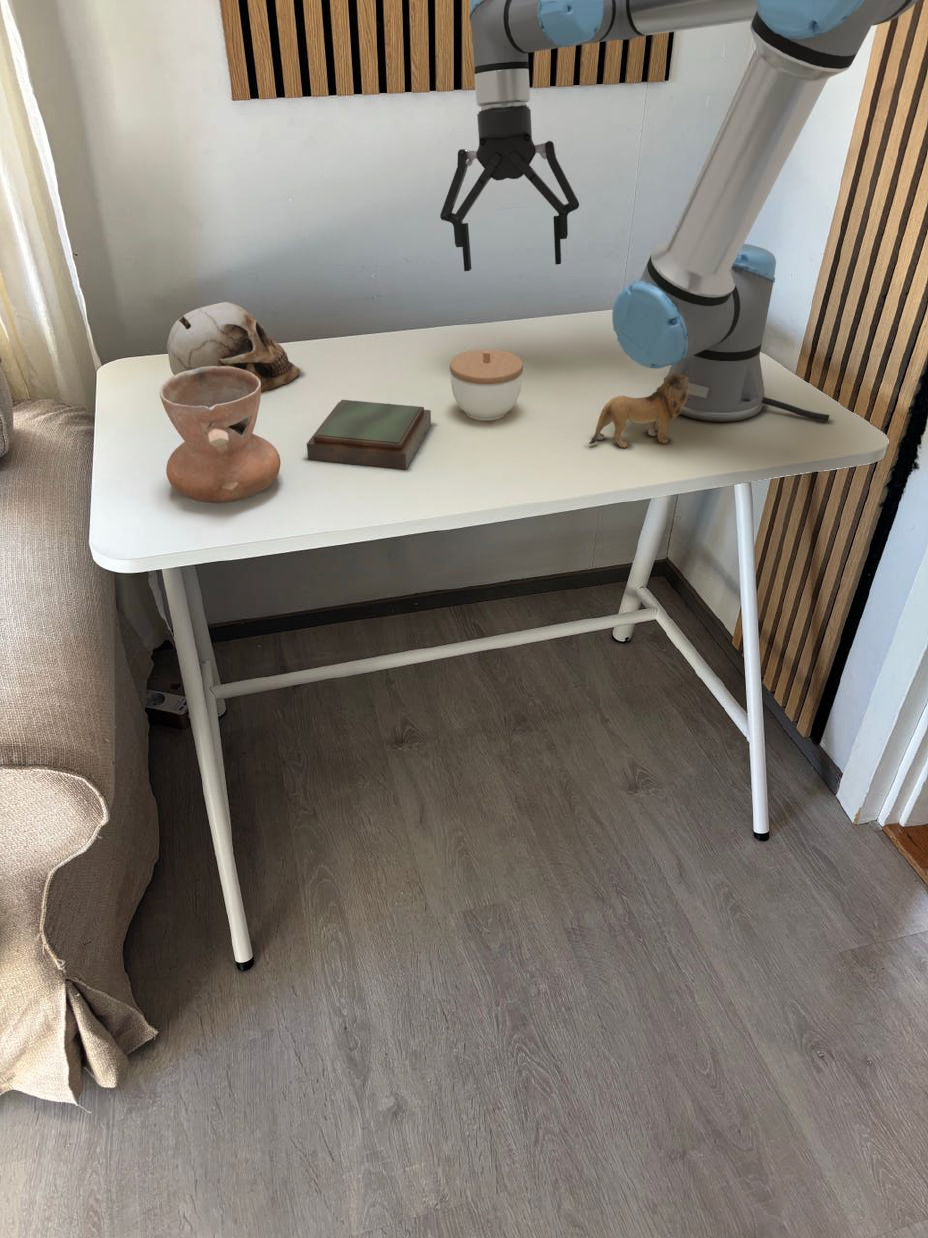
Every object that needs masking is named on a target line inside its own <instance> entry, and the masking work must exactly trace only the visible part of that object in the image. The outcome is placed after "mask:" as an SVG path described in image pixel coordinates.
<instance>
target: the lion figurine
mask: <svg viewBox="0 0 928 1238" xmlns="http://www.w3.org/2000/svg"><path fill="white" fill-rule="evenodd" d="M666 376H667V375H666ZM666 376H665V377H663V382H662V384H661V385H660V386H658V387H657V388H656V391H654V392H653V393H652V394H650V395H648V396H644V397H630V396H625V395H617V396H614V397H612V398H611V399H609V401H607V402H606V404H605V405H604V406H603V408H602V410H601V412H600V413H599V417H598V421H597V424H596V427H595V432H594V436H593V437H592V438H591V440H590V441H589V442H588V444H589V445H593V444H595V443H596V441H597V440H599V441H600V440H603V439H604V438H605V434H604V433H602V431H603V429H604V428H605V427H606V426H608V425H610V424H611V423H613V427H614V432H613V438H614V440H615V441H616V444H617V445H618V446H619V447H620V448H628V446H629V445H628V442H627V441H625V440H623V438H622V434H623V431H624V429H625V427H626V426H627V423H628V422H627V421H628V420H629V421H630V422H632V423H635V424H648V429H647V434H648V435H649V436H651V437H653V436H657V438H658V442H660V443H662V444H667V443H668V442H669V439H668V438H667V437H665V435H666V433H667V430H668V426H669V421H671V420H673V419H676V418H677V417H678V416H679V415H681V414H680V413H681V411H682V408H683V407H684V404H685V403H686V401H687V397H688V395H689V393H690V387H689V383H688V377H686V376H684V375H681V374H678V373H674V374H672V375H668V376H667V377H666ZM656 425H658V430H656Z"/></svg>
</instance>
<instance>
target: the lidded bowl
mask: <svg viewBox="0 0 928 1238" xmlns="http://www.w3.org/2000/svg"><path fill="white" fill-rule="evenodd" d="M449 372H450V385H451V391H452V394H453V395H452V396H453V398H454V400H455V402H456V404H457V405H458V407H460V409H461V410H462V411H463V412H465V414H466V416H467V417H468V418H469V419H472V420H475V421H481V422H493V421H498V420H500V419H502V418H504V417H505V416H506V414H507V413H508V412H509V411H510V410H511V409H513V407H514V406H515V404H516V403H517V401H518V399H519V397H520V393H521V389H522V381H523V372H524V362H523V360H522V359H521V358H520V357H519V356H518V355H516V354H513V353H512V352H509V351H504V350H498V349H475V350H469V351H464V352H461V353H458V354H457V355H455V356H453V357H452V359H451V360H450V361H449Z"/></svg>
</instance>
